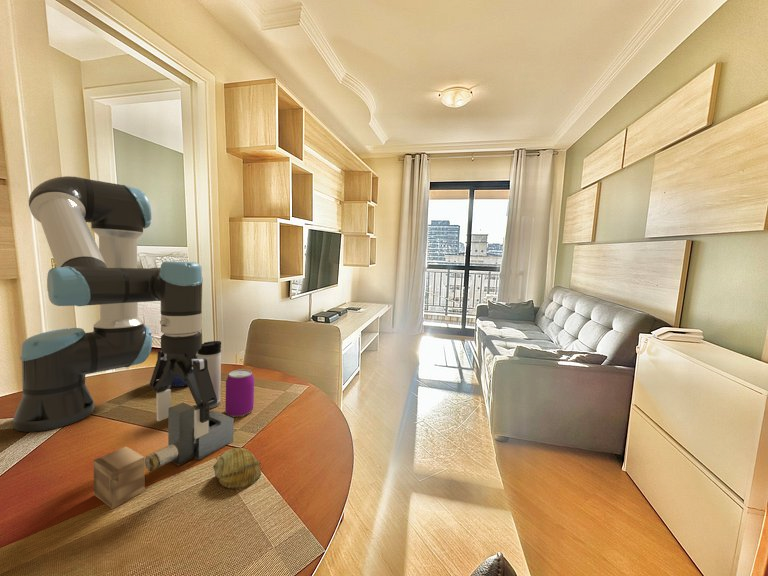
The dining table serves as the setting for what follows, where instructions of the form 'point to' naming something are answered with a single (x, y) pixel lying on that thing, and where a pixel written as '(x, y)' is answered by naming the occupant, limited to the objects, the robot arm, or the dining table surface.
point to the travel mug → (213, 365)
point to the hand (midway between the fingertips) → (181, 426)
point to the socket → (119, 476)
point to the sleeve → (215, 435)
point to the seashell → (237, 468)
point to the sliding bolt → (176, 438)
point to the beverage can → (239, 393)
